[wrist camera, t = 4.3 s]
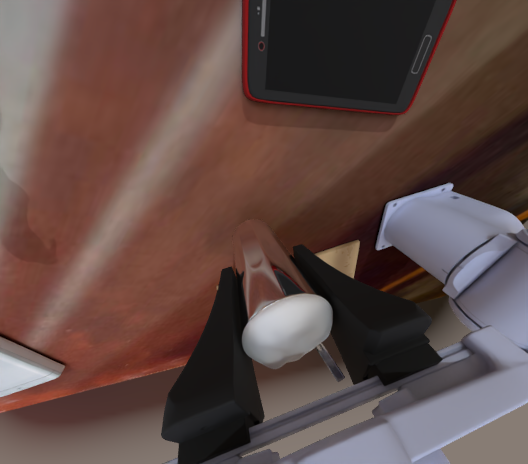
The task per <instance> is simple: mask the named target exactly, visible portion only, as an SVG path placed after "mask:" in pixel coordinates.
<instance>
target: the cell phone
mask: <svg viewBox="0 0 528 464" xmlns="http://www.w3.org/2000/svg"><path fill="white" fill-rule="evenodd" d="M456 1H457V0H242V83H243V90H244V94H245V96H246V97H247V98H248V99H250V100H252V101H256V102H262V103H271V104H284V105H294V106H305V107H312V108H323V109H334V110H345V111H356V112H367V113H378V114H389V115H401V114H405V113H406V112H407V111H408V110H409V109H410V108H411V106H412V104H413V102H414V100H415V98H416V95H417V93H418V91H419V88H420V86H421V84H422V81H423V79H424V77H425V74H426V72H427V70H428V67H429V65H430V63H431V60H432V58H433V55H434V53H435V51H436V48H437V46H438V44H439V41H440V39H441V37H442V34H443V32H444V30H445V27H446V25H447V22H448V20H449V18H450V15H451V13H452V11H453V8H454V6H455V3H456Z"/></svg>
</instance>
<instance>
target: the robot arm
mask: <svg viewBox="0 0 528 464" xmlns="http://www.w3.org/2000/svg"><path fill="white" fill-rule="evenodd" d="M452 188H453V184H451V183H447V184H444V185H441V186H438V187H435V188H431V189H428V190H425V191H422V192H419V193H415V194H412V195H409V196H406V197H403V198H399V199H396V200H393V201H390V202H388V203H387V204H386V206H385V210H384V214H383V218H382V222H381V226H380V230H379V234H378V238H377V242H376V246H375V249H377V250H381V249H384V248H387V247H390V246H395V247H396V248H397V249H399V250H400V251H401V252H403V253H404V254H405V255H407V256H408V257H409V258H411V259H412V260H413V261H415V262H416V263H417V264H419V265H420V266H421V267H423V268H424V269H425V270H427V271H428V272H429V273H430V274H432V275H433V276H434V277H436V278H437V279H438V280H440V281H441V282H442V283H444V284H445V285H446V286H445V287H444V288H443V289H442V290H443V291H444V292H445V293H446V294H448V295H449V296H450V297H449V304H450V306H451V308H452V310H453V311H454V313H455V315H456V316H457V317H458V318H459V320H460V321H461V322H462V323H463V324H464V325H465V326H466V327H467V328H469V329H470V330H471V331H472V332H471V333H469V334H467V335H466V336H465V337H463V339H462V340H461V341H460V342H458V343H455V344H453V345H451V346H448V347H446V348H443V349H441V350H438V351H435V350H434V349H433V348H432V347H431V346H430V345H429V344H428V343H429V342H430V341H429V339H428V338H427V337H426V336H425V335H424V333H425V331H426V330H427V329H428V327H429V326H430V324H431V317H430V316H428V315H427V314H426V313H425V312H424V311H423V310H422V309H421V308H420V307H419V306H418V305H417V304H415V303H414V302H413V301H410V300H406V299H403V298H400V297H397V296H394V295H391V294H388V293H385V292H383V291H380V290H377V289H375V288H373V287H370V286H368V285H366V284H364V283H361V282H359V281H357V280H355V279H353V278H351V277H349V276H347V275H346V274H344V273H342V272H340V271H339V270H337V269H335V268H334V267H332V266H331V265H329V264H328V263H326V262H325V261H323V260H322V259H320V258H319V257H318V256H316V255H315V254H314V253H312V252H311V251H310V250H308V249H307V248H306V247H305V246H304V245H302V244H301V245H297V246H294V247H293V250H294V259H295V261H296V262H297V263H298V265H299V266H300V267H301V269H302V270H303V271H304V272H305V274H306V275H307V276H308V277H309V279H310V280H311V281H312V282H313V284H314V285H315V286H316V287H317V289H318V290H319V291H320V292H321V294H322V295H323V296H324V297H325V299H326V300H327V301H328V302H329V304H330V305H331V307H332V310H333V323H332V328H331V331H330V332H331V334H332V337H333V339H334V341H335V343H336V345H337V347H338V350H339V352H340V354H341V356H342V359H343V361H344V363H345V365H346V368H347V370H348V372H349V375H350V377H351V379H352V382H353V384H354V385H353V386H351V387H348V388H346V389H343V390H341V391H338V392H336V393H334V394H331V395H329V396H326V397H324V398H322V399H319V400H317V401H314V402H312V403H309V404H307V405H305V406H302V407H299V408H297V409H295V410H292V411H290V412H287V413H285V414H282V415H280V416H277V417H275V418H273V419H270V420H268V421H265V422H263V419H264V411H263V407H262V403H261V399H260V394H259V390H258V386H257V381H256V377H255V373H254V368H253V363H252V358H250V357H249V356H248V355H247V354H246V353H245V351H244V349H243V345H242V334H241V322H240V309H239V296H238V284H237V278H236V276H235V274H234V271H233V269H232V266H231V267H228V268H225V269H222V271H221V277H220V282H219V287H218V291H217V294H216V298H215V301H214V304H213V307H212V310H211V313H210V316H209V319H208V321H207V324H206V326H205V329H204V331H203V333H202V335H201V337H200V339H199V342H198V344H197V346H196V348H195V349H194V351H193V353H192V355H191V357H190V359H189V360H188V362H187V364H186V366H185V368H184V369H183V371H182V373H181V374H180V376H179V378H178V379H177V381H176V382H175V384H174V385H173V387H172V389H171V390H170V392H169V393H168V398H167V402H166V406H165V411H164V417H163V426H162V433H161V436H162V438H163V439H165V440H168V441H172V442H176V443H179V451H178V458H175V459H173V460H171V461H168V462H166V463H163V464H450V462H449V461H448V459H447V458H446V456H445V455H444V453H443V452H442V451H441V449H440V448H441V447H443V446H445V445H447V444H449V443H451V442H453V441H455V440H457V439H459V438H461V437H463V436H465V435H467V434H468V433H470V432H472V431H474V430H476V429H478V428H480V427H482V426H484V425H486V424H488V423H490V422H491V421H493V420H495V419H497V418H499V417H501V416H503V415H505V414H507V413H509V412H511V411H513V410H514V409H516V408H518V407H520V406H522V405H524V404H526V403H528V229H524V227H523V225H522V223H521V222H520V221H519V220H518V219H517V218H516V217H515V216H514V215H512V214H511V213H509V212H507V211H505V210H503V209H500V208H497V207H494V206H492V205H489V204H486V203H483V202H480V201H478V200H475V199H472V198H469V197H466V196H464V195H461V194H458V193H455V192H452V191H451V190H452ZM396 390H398V391H397V392H396V393H394V394H392V395H390V396H388V397H386V398H385V399H383V400H381V401H379V405H378V406H377V407H376V408H375V409H374V410H373V411H372V413H373V415H374V418H371V419H369V420H366V421H364V422H361V423H359V424H356V425H354V426H351V427H349V428H347V429H344V430H342V431H340V432H337V433H335V434H333V435H331V436H328V437H326V438H324V439H322V440H319V441H317V442H315V443H313V444H311V445H308V446H306V447H304V448H302V449H300V450H298V451H296V452H294V453H292V454H289V455H288V456H285V457H283V458H281V459H280V458H279V453H278V452H272V451H271V450H270V449H267V450H264V451H261V452H258V453H255V454H252V455H249V456H246V457H244V458H243V457H241V456H243V455H245V454H248V453H250V452H252V451H255V450H257V449H259V448H262V447H264V446H266V445H269V444H271V443H273V442H276V441H278V440H281V439H283V438H285V437H287V436H290V435H292V434H295V433H297V432H299V431H302V430H304V429H306V428H309V427H311V426H314V425H316V424H318V423H321V422H323V421H325V420H328V419H330V418H332V417H335V416H337V415H339V414H342V413H344V412H347V411H349V410H351V409H354V408H356V407H358V406H361V405H363V404H365V403H368V402H370V401H372V400H374V399H377V398H380V397H382V396H384V395H386V394H389V393H391V392H393V391H396ZM262 422H263V423H262Z"/></svg>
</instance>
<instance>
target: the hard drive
mask: <svg viewBox="0 0 528 464" xmlns="http://www.w3.org/2000/svg"><path fill="white" fill-rule="evenodd" d="M64 368H65V366H64V365H62V364H60V363H57V362H55V361H53V360H51V359H49V358H46V357H44V356H42V355H40V354H38V353H36V352H33V351H31V350H29V349H27V348H25V347H22V346H20V345H18V344H16V343H14V342H11V341H9V340H7V339H5V338H2V337H0V397H3V396H6V395H9V394H12V393H15V392H18V391H21V390H23V389H27V388H30V387H33V386H36V385H38V384H41V383H44V382H47V381H50V380H53V379H55V378H57V377H59V376H60V375H61V373H62V371H63V369H64Z"/></svg>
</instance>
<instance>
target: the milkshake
mask: <svg viewBox="0 0 528 464" xmlns="http://www.w3.org/2000/svg"><path fill="white" fill-rule="evenodd" d="M232 241H233V250H234V258H235V267H236V275H237V284H238V296H239V309H240V322H241V334H242V345H243V349H244V351H245V353H246V354H247V355H248V356H249V357H250V358H252V359H254V360H255V361H257V362H259V363H261V364H263V365H265V366H266V367H269V368H271V369H278V368H280V367H281V366H283V365H284V364H285V363H287V362H291V361H296V360H299V359H300V358H302V356H304V354H306V353H307V352H310V351H311V350H312V349H314V348H316V350H317V351H318V353H319V354H320V356H321V357H322V359H323V360H324V361H325V363H326V365H327V366H328V368H329V369H330V371H331V373H332V374H333V375H334V377H335V379H336V380H337V381H338V382H339V381H341V380H343V379H344V378H345V376H344V375H343V373H342V372H341V370H340V369H339V367H338V366H337V364H336V363H335V362H334V360H333V358H332V357H331V356H330V354H329V352H328V351H327V350H326V348H325V347H324V345H323V344H322V342H323V341H324V340H325V339H326V338H327V337H328V336H329V334H330V331H331V328H332V323H333V310H332V307H331V305H330V304H329V302H328V301H327V300H326V299H325V297H324V296H323V295H322V294H321V292H320V291H319V290H318V289H317V287H316V286H315V285H314V284H313V282H312V281H311V280H310V279H309V277H308V276H307V275H306V274H305V272H304V271H303V270H302V269H301V267H300V266H299V265H298V263H297V262H296V261H295V259H294V258H293V257H292V255H291V254H290V253H289V251H288V250H287V249H286V247H285V246H284V245H283V243H282V242H281V241H280V239H279V238H278V237H277V235H276V234H275V233H274V231H273V230H272V228H271V227H270V226H269V225H267V224H266V223H265V222H264V221H262V220H261V219H248V220H246V221H245V222H243V223H241V224H239V225H238V226H237V227H236V229H235V231H234V233H233V235H232Z"/></svg>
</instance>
